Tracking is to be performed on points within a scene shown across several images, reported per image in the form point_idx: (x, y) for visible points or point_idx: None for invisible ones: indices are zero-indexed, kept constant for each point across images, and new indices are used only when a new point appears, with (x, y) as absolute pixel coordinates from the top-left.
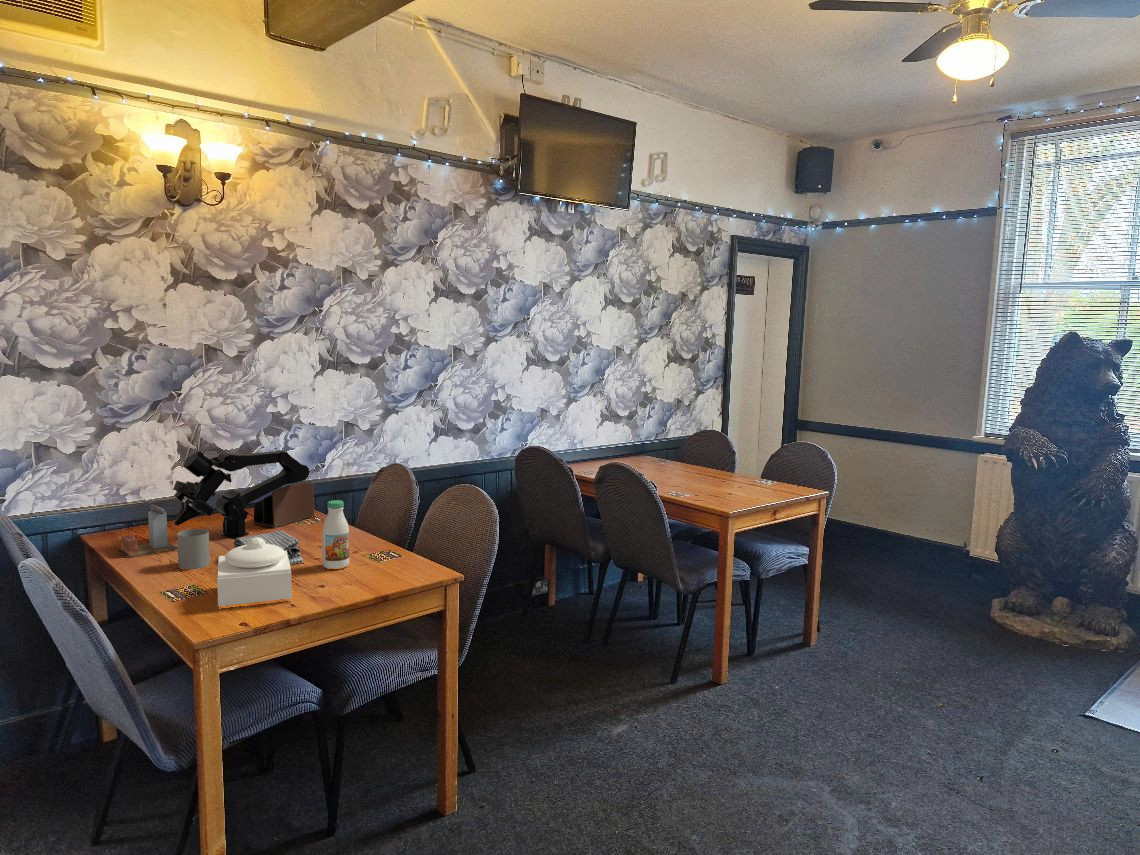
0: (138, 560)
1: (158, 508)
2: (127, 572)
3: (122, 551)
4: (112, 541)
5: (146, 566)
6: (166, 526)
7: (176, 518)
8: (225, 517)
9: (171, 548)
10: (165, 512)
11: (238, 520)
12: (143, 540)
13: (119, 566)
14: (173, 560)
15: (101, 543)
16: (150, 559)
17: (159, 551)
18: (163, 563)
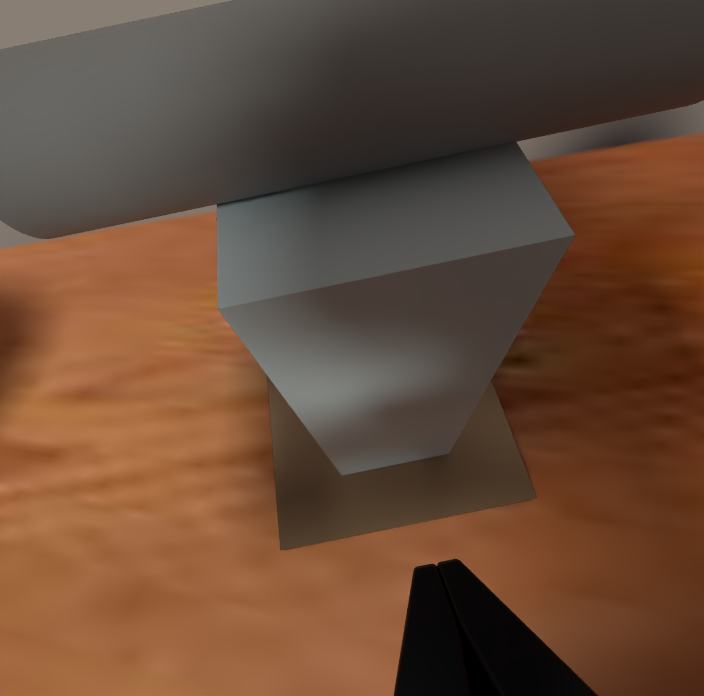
0: (188, 297)
1: (93, 32)
2: (32, 250)
3: None
4: (684, 202)
5: (50, 323)
6: (304, 420)
7: (501, 629)
8: None
9: (278, 497)
10: (220, 292)
11: None
12: (678, 351)
13: (149, 227)
14: (35, 470)
15: (644, 163)
16: (162, 350)
17: (270, 409)
18: (27, 405)
